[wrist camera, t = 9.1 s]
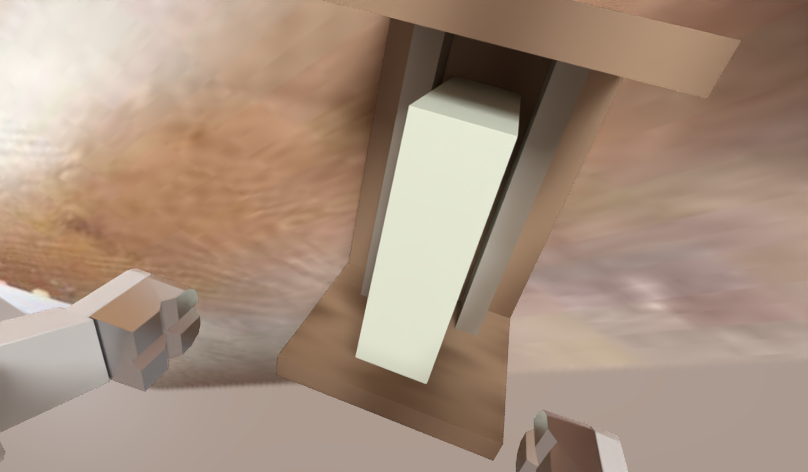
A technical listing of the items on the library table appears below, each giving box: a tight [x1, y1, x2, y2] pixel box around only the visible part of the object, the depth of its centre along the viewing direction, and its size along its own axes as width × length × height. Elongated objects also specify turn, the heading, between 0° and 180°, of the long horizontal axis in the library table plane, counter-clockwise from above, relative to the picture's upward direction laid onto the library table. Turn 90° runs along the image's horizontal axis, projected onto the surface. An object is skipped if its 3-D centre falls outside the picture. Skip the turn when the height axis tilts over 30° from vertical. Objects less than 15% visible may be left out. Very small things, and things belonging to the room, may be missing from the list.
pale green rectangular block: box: [355, 76, 521, 384], centre depth 16 cm, size 10×3×8 cm, turn 167°
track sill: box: [276, 0, 741, 460], centre depth 17 cm, size 10×16×9 cm, turn 168°
